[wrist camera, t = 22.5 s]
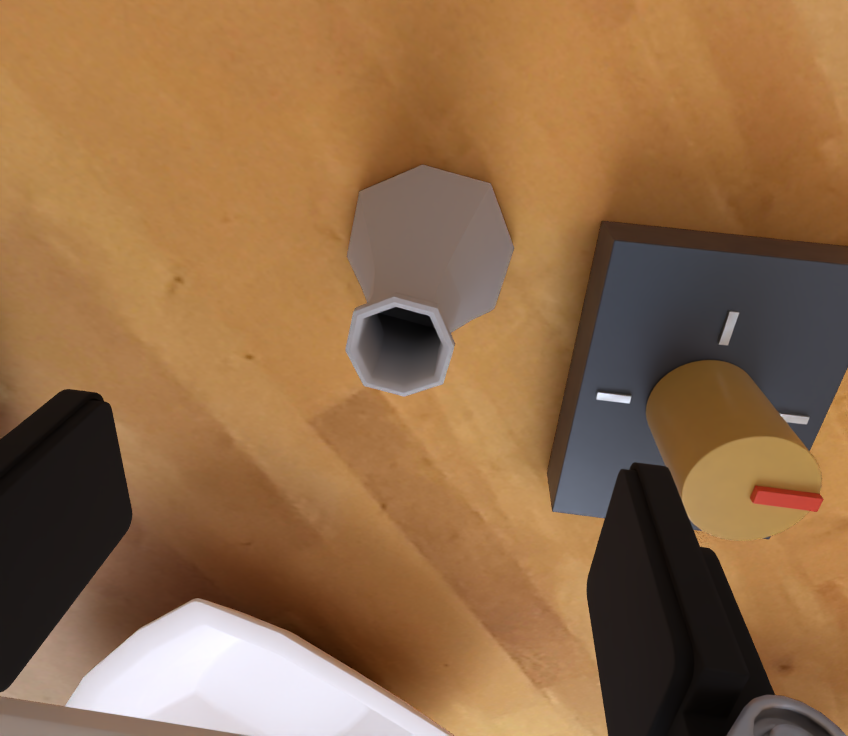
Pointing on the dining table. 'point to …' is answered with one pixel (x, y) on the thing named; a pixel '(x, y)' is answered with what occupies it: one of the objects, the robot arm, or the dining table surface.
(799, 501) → the yellow dial knob
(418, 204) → the flask
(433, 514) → the dining table surface
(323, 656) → the bowl
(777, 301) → the panel
